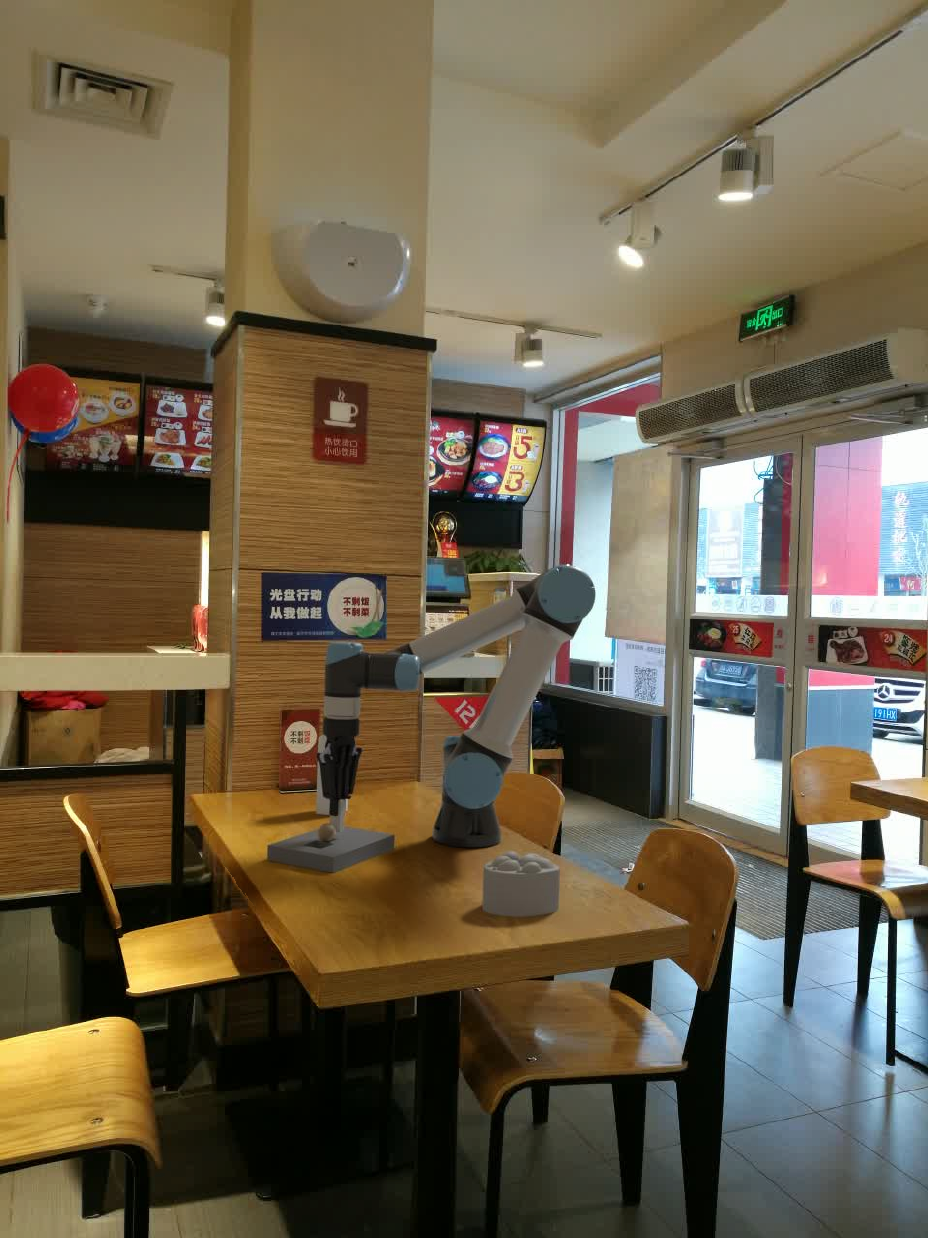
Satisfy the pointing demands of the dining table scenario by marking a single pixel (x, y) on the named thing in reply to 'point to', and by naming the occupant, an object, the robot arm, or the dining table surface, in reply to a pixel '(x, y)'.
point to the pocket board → (330, 849)
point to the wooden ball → (326, 832)
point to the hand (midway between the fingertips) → (336, 830)
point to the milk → (322, 802)
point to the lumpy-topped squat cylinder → (520, 885)
